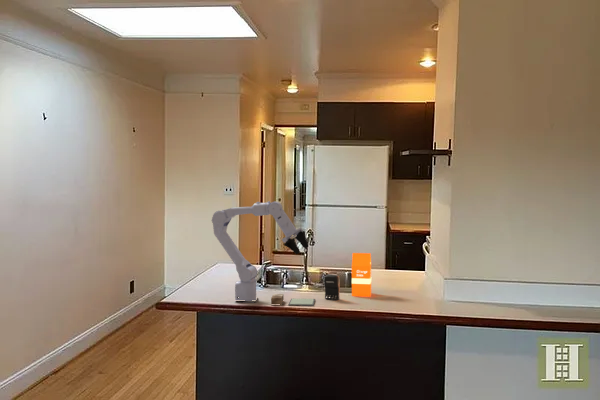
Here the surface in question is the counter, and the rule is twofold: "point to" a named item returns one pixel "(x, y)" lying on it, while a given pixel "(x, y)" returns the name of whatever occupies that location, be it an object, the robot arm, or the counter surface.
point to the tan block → (277, 299)
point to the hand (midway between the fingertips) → (302, 250)
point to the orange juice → (361, 274)
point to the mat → (302, 302)
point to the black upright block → (332, 287)
